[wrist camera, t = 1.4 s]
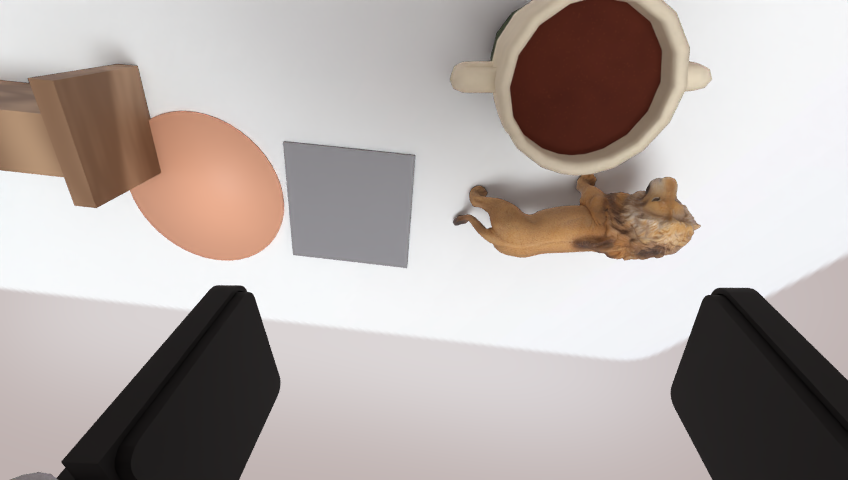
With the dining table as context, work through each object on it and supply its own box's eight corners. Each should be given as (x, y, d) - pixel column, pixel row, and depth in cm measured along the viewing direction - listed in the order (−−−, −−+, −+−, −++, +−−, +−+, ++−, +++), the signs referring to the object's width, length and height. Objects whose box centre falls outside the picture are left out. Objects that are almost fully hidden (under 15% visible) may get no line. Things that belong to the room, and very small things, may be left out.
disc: (92, 146, 33) (91, 147, 33) (223, 84, 30) (222, 84, 30) (192, 275, 39) (191, 276, 38) (312, 234, 35) (311, 235, 35)
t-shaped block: (27, 157, 34) (-69, 189, 28) (-16, 50, 30) (-138, 61, 24) (163, 171, 34) (96, 208, 28) (137, 65, 30) (52, 80, 24)
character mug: (454, 111, 29) (447, 175, 18) (455, -6, 26) (448, -18, 15) (613, 110, 28) (712, 178, 17) (637, -11, 25) (781, -28, 14)
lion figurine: (645, 139, 29) (712, 187, 21) (650, 206, 32) (711, 271, 24) (445, 191, 32) (438, 250, 25) (462, 248, 35) (462, 318, 27)
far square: (293, 253, 36) (293, 254, 36) (284, 141, 31) (283, 142, 31) (407, 266, 36) (406, 268, 36) (415, 155, 31) (414, 156, 31)
